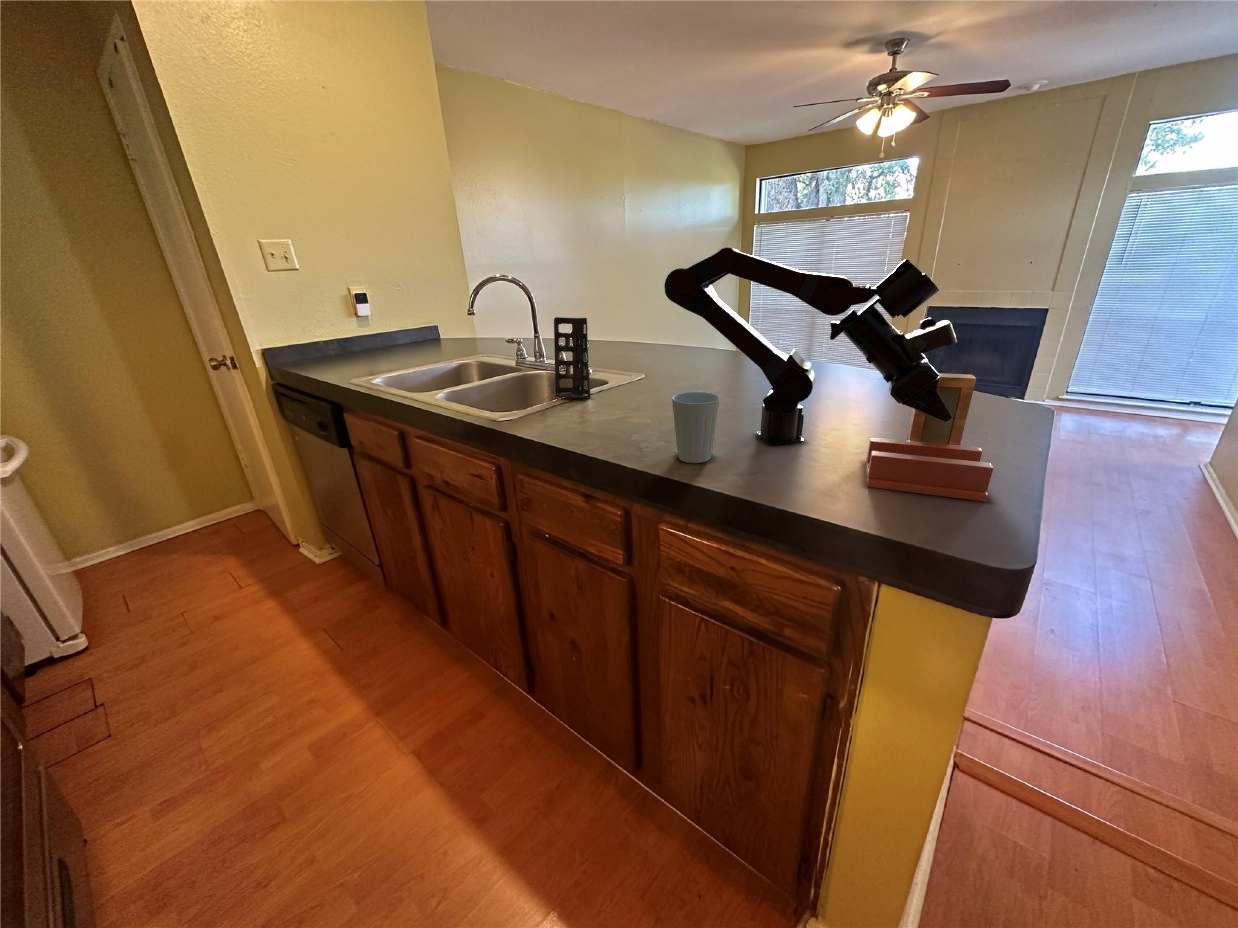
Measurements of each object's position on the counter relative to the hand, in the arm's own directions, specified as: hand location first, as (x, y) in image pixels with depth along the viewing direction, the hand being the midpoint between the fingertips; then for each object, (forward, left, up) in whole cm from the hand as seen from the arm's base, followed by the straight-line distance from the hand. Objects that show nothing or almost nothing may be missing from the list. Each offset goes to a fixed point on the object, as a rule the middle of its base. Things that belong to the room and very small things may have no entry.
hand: (944, 411), depth 76 cm
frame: (-1, 0, -7) cm, 7 cm away
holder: (-56, +58, -7) cm, 81 cm away
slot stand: (-10, -9, -7) cm, 15 cm away
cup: (-38, +8, -7) cm, 40 cm away
